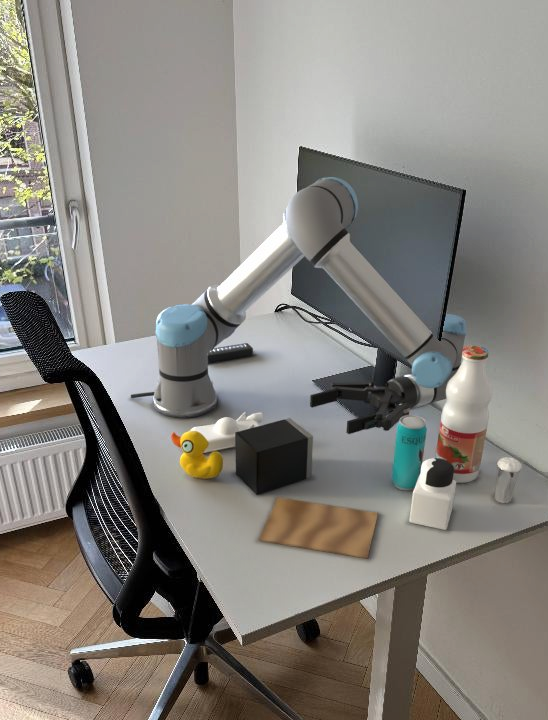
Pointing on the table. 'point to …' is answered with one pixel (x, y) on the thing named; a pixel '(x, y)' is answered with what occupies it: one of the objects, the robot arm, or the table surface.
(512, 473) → the milkshake
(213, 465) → the duckling
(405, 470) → the beverage can
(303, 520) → the wooden board
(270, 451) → the desk bin
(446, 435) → the fruit juice
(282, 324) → the table surface
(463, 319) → the robot arm
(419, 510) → the medicine bottle
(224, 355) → the multiport hub
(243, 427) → the white piece
